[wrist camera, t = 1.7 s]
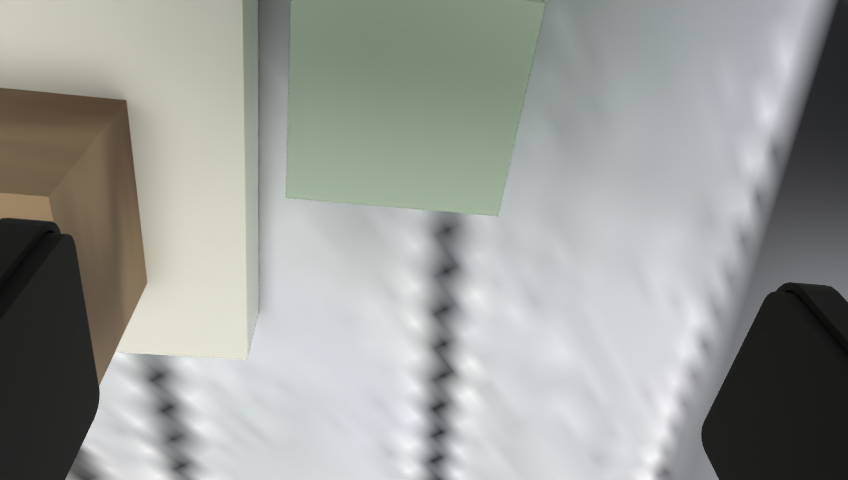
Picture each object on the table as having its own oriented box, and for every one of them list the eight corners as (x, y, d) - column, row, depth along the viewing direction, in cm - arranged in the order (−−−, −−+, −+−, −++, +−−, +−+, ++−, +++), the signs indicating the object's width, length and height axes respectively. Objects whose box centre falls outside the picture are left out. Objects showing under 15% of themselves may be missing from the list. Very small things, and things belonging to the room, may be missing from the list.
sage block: (316, -81, 18) (291, -29, 13) (501, -56, 19) (545, 3, 14) (308, 98, 21) (286, 197, 16) (470, 114, 21) (498, 216, 16)
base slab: (-228, -88, 17) (-312, -70, 15) (257, -28, 19) (242, -4, 16) (-93, 288, 24) (-139, 337, 22) (258, 312, 25) (247, 359, 23)
